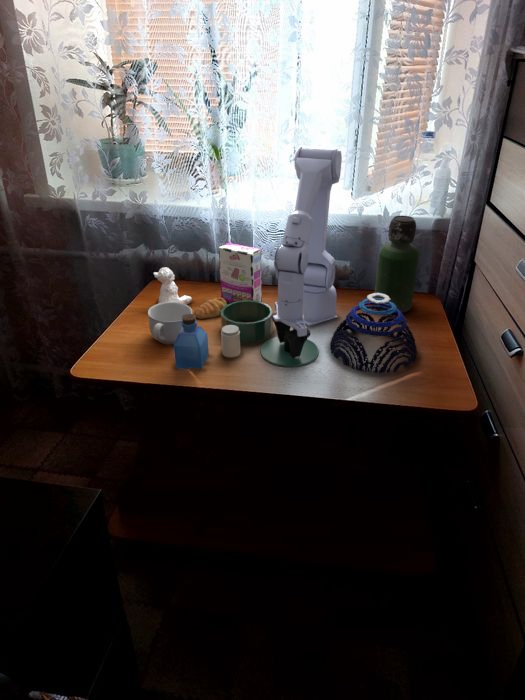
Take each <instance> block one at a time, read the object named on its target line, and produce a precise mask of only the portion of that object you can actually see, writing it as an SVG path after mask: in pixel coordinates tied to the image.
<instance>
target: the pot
mask: <svg viewBox="0 0 525 700" xmlns="http://www.w3.org/2000/svg"><path fill="white" fill-rule="evenodd" d="M272 314H274V311H273V308H272V307H271V306H270V305H269V304H267V303H266V302H263V301H262V302H259V301H252V300H244V301H236V302H233V303H227V305H226V306H224V307H223V309H222V310H221V315H220V323H221V324H220V325H221V329H222V328H223V327H224V326H226V325H235V326H237V327H238V328H239V331H240V344H255V343H260V342H262V341H265V340H267V339H268V338H270V337H271V336H272V334H273V332H274V322H273V320H272V318H271V315H272ZM243 321H249V322H243Z"/></svg>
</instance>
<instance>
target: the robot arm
mask: <svg viewBox="0 0 525 700" xmlns="http://www.w3.org/2000/svg"><path fill="white" fill-rule="evenodd" d="M342 160H343V157H342V151H341V148H340V147H337V146H336V147H326V146H311V145H310V146H309V145H303V144H300V145H299V146H298V147H297V148H296V151H295V153H294V170H295V174H296V177H297V179H298V180H299V182H298V187H297V194H296V201H295V207H294V211H293V212H291V213H290V214H289V215H288V217H287V220H286V224H285V228H284V233H283V237H282V240H281V244H280V246H277V248H276V249H275V251H274V256H273V257H274V258H273V268H274V270H275V278H276V280H277V301H275V302H274V310H275V311H276V313H275V312H274V313H273V314H272V315H271V318H272V320H273V325H274V327H275V330H276V334H277V337H278V339H279V342H280V343H282V342H284V333H285V334H286V336H287V339H288V342H289V347H290V354H291V357H292V358H294V357H299V356H300V355H301V352H302V349H303V346H304V343H305V341H306V340H307V339H309V338H310V336H311V330H310V329H309V328H308V327H307V326H306V325H308V326H312V325H315V324H319V323H322V322H325V321H328V320H331V319H335V318H338V315H336V313H337V299H338V296H337V290H336V288H335V285H334V283H335V278H336V259H335V257H333V256H332V255H331V254H330V253H329V252H328V251H327V250H326V244H327V236H328V235H327V234H328V223H329V222H328V221H329V211H330V201H331V200H330V199H331V191H332V186H333V185H335V184H337V183H340V178H341V171H342V163H343V162H342ZM291 328H292V329H291Z"/></svg>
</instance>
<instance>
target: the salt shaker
mask: <svg viewBox="0 0 525 700" xmlns="http://www.w3.org/2000/svg"><path fill="white" fill-rule="evenodd" d="M220 338H221V340H220V341H221V342H220V343H221V354H222V356H224V357H226V358H235V357H238V356H240V355H241V343H240V331H239V328H238V327H237V326H235V325H226V326H224V327H223V328H222V327H221V331H220Z"/></svg>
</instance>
